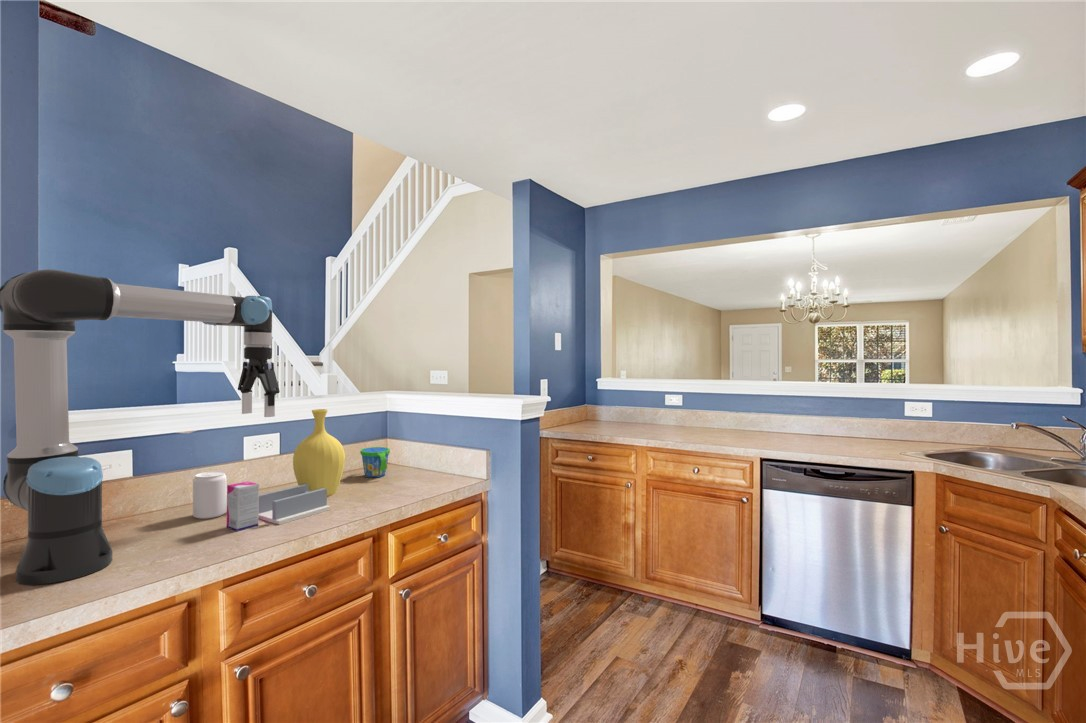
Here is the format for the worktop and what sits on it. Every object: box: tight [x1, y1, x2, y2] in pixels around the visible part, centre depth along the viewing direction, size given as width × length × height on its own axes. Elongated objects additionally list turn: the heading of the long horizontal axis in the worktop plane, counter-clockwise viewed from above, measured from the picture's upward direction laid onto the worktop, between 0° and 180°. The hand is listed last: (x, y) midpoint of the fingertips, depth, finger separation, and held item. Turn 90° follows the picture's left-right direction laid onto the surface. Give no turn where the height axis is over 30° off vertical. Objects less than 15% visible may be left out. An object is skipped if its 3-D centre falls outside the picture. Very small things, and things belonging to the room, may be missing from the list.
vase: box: [292, 408, 346, 497], centre depth 169 cm, size 16×16×28 cm
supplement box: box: [226, 481, 260, 532], centre depth 137 cm, size 6×6×12 cm
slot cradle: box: [258, 484, 331, 526], centre depth 149 cm, size 16×14×6 cm
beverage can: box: [192, 470, 228, 520], centre depth 146 cm, size 8×8×12 cm
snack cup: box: [359, 446, 391, 479], centre depth 194 cm, size 16×10×10 cm
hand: (257, 415), depth 157 cm, fingers open, 13 cm apart
